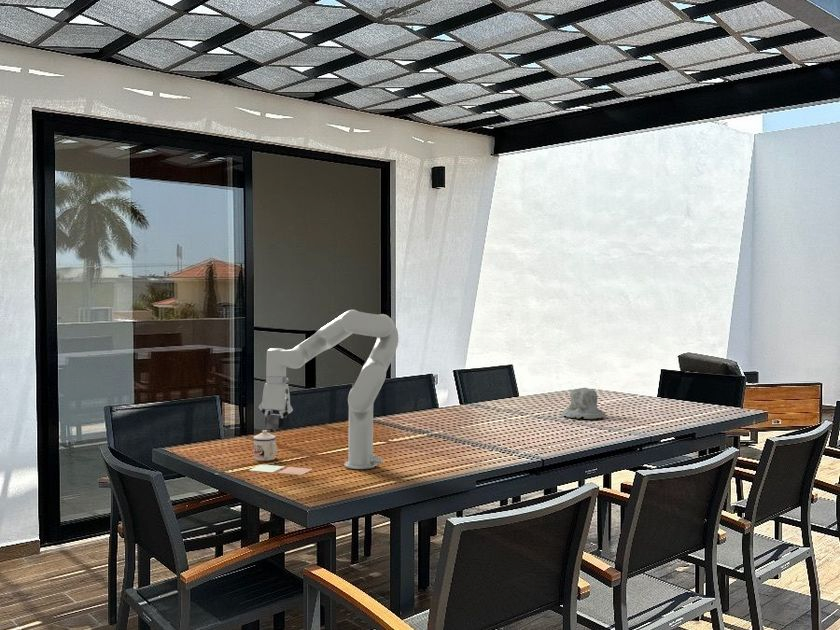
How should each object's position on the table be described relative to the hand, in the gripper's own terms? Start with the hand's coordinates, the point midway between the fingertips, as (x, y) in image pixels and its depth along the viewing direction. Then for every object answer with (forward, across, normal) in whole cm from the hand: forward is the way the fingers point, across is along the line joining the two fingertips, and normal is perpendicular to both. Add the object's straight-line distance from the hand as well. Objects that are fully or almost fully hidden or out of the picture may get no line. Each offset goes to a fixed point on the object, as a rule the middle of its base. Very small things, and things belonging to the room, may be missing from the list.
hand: (275, 426), depth 308 cm
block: (+1, 0, 0) cm, 1 cm away
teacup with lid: (+16, +10, -11) cm, 22 cm away
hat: (+14, -94, -167) cm, 192 cm away
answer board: (+16, -5, +4) cm, 17 cm away
